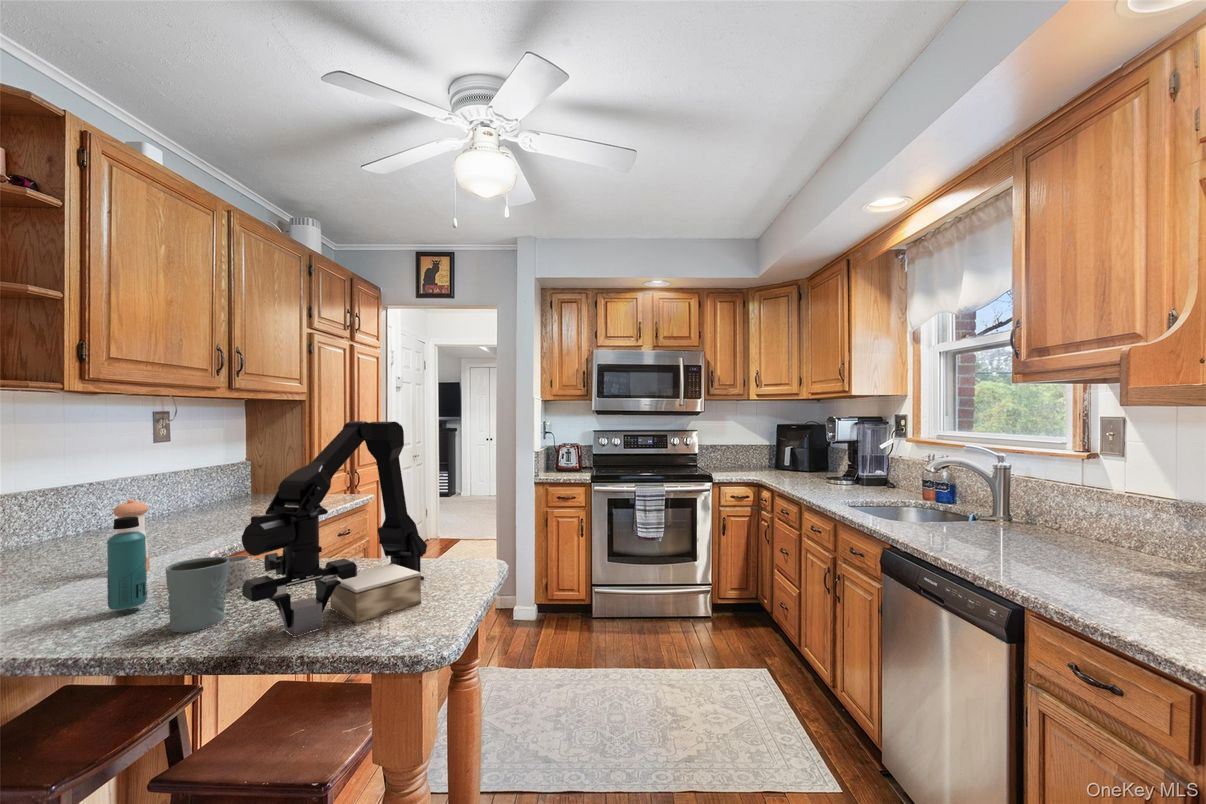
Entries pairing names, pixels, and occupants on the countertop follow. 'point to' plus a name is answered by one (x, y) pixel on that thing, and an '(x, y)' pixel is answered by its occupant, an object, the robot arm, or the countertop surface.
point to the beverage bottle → (126, 566)
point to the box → (376, 599)
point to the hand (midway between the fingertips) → (303, 623)
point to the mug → (238, 571)
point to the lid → (378, 577)
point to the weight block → (305, 616)
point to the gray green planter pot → (196, 593)
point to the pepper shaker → (133, 510)
